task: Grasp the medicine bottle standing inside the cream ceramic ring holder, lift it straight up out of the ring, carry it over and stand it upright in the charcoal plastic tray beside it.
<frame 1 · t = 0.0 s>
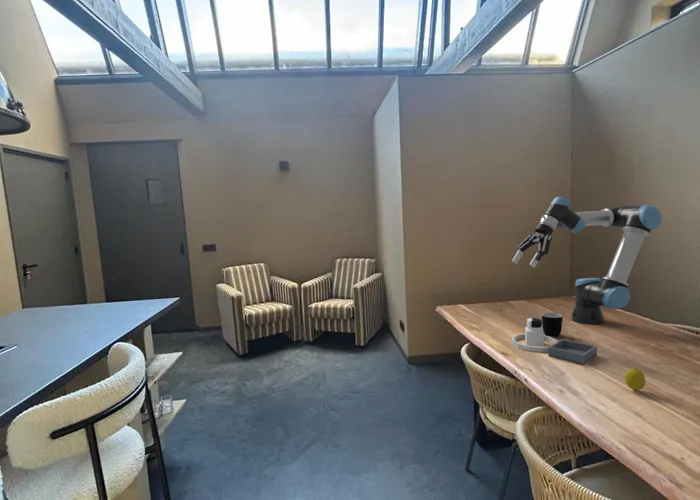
hand: (522, 264, 184), 36 cm above the table, tool tilted 35°, fingers open, 13 cm apart
medicine bottle: (534, 344, 178), resting in ring holder
tray: (572, 355, 162), on the table
mug: (550, 334, 190), on the table
lemon: (634, 391, 131), on the table
ring holder: (534, 344, 178), on the table
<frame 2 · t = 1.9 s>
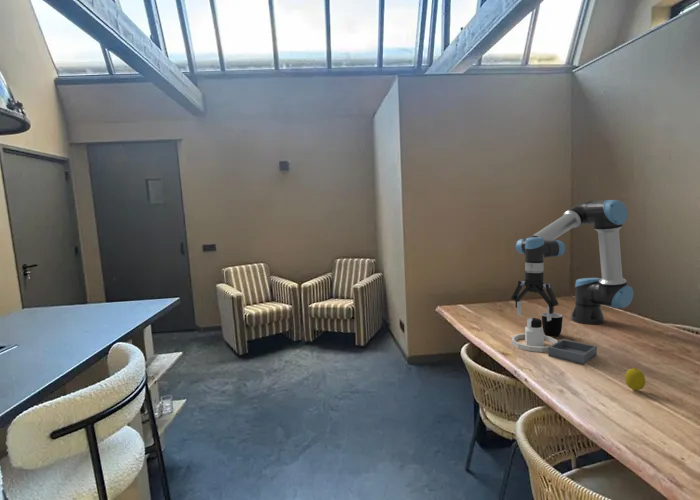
hand: (533, 317, 176), 13 cm above the table, tool pointing down, fingers open, 13 cm apart
nothing on the table moved.
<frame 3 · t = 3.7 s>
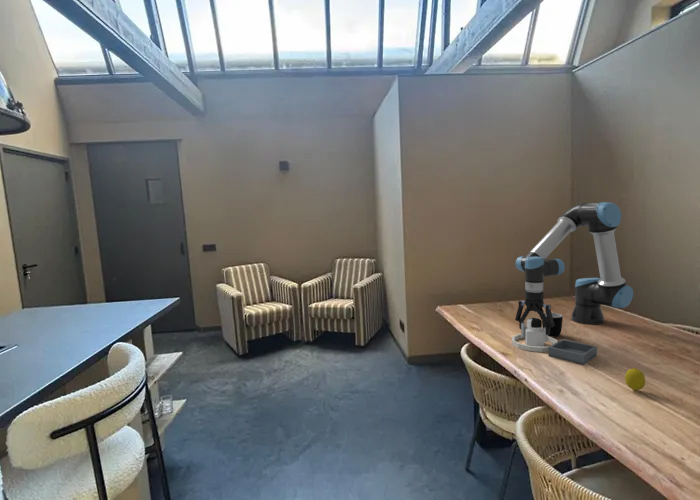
hand: (534, 338, 178), 3 cm above the table, tool pointing down, fingers closed on medicine bottle, 9 cm apart
medicine bottle: (534, 344, 178), resting in ring holder, touching gripper
everything else where it was.
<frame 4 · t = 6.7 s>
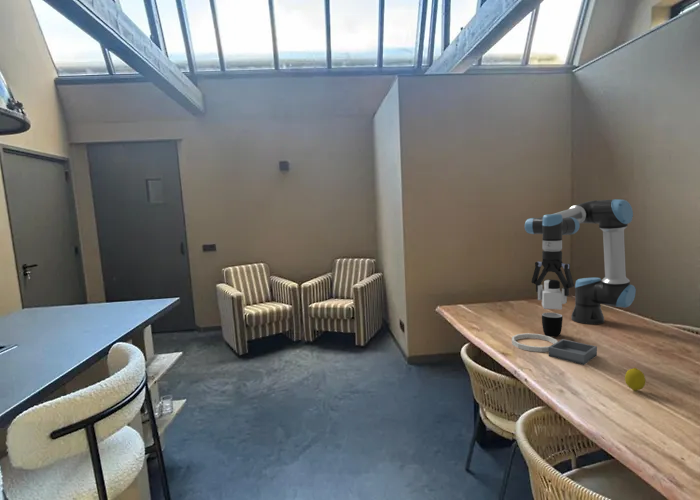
hand: (551, 301, 168), 22 cm above the table, tool pointing down, fingers closed on medicine bottle, 9 cm apart
medicine bottle: (551, 307, 168), point 19 cm above the table, touching gripper
everything else where it was.
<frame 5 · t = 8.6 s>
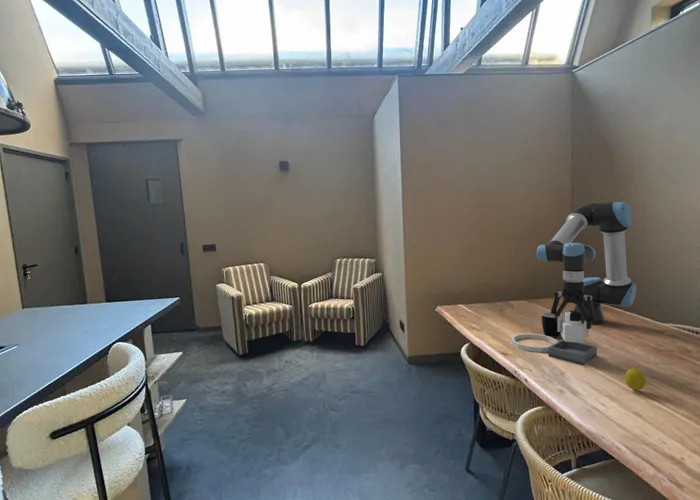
hand: (572, 333, 161), 10 cm above the table, tool pointing down, fingers closed on medicine bottle, 9 cm apart
medicine bottle: (572, 340, 162), point 7 cm above the table, touching gripper
everything else where it was.
when the fingers open (5 cm above the table, at t = 10.1 s): medicine bottle drops 1 cm, resting on tray.
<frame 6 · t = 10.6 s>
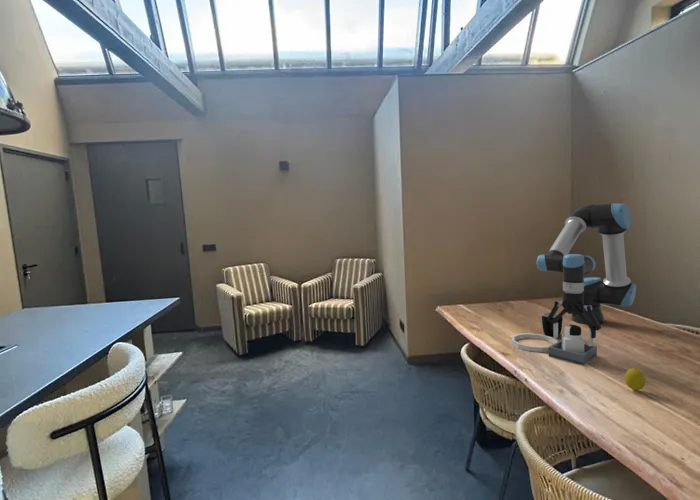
hand: (572, 341, 162), 6 cm above the table, tool pointing down, fingers open, 13 cm apart
medicine bottle: (572, 354, 162), point 1 cm above the table, touching tray
everything else where it was.
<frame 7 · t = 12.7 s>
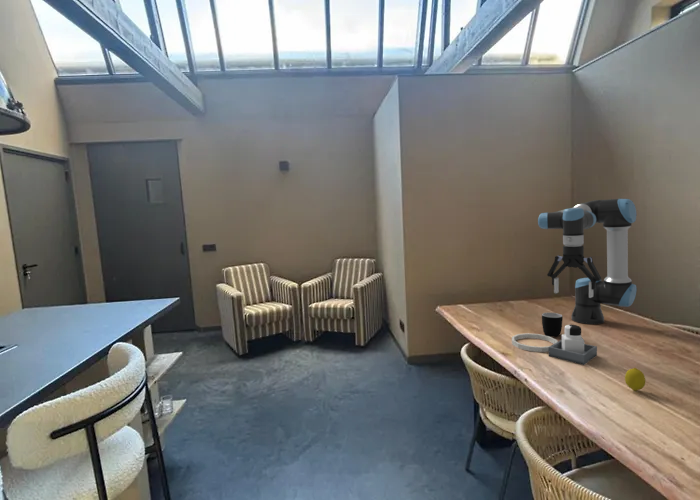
hand: (573, 294, 164), 25 cm above the table, tool pointing down, fingers open, 13 cm apart
nothing on the table moved.
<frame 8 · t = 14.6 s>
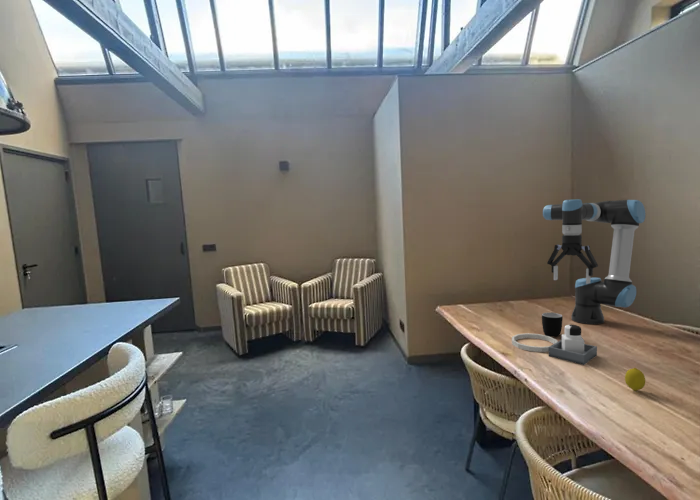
hand: (571, 281, 174), 29 cm above the table, tool pointing down, fingers open, 13 cm apart
nothing on the table moved.
at the end: medicine bottle inside the target area on the tray (0.0 cm from its centre), point 0.8 cm above the tray's base; medicine bottle tilted 0°; the gripper is holding nothing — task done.
